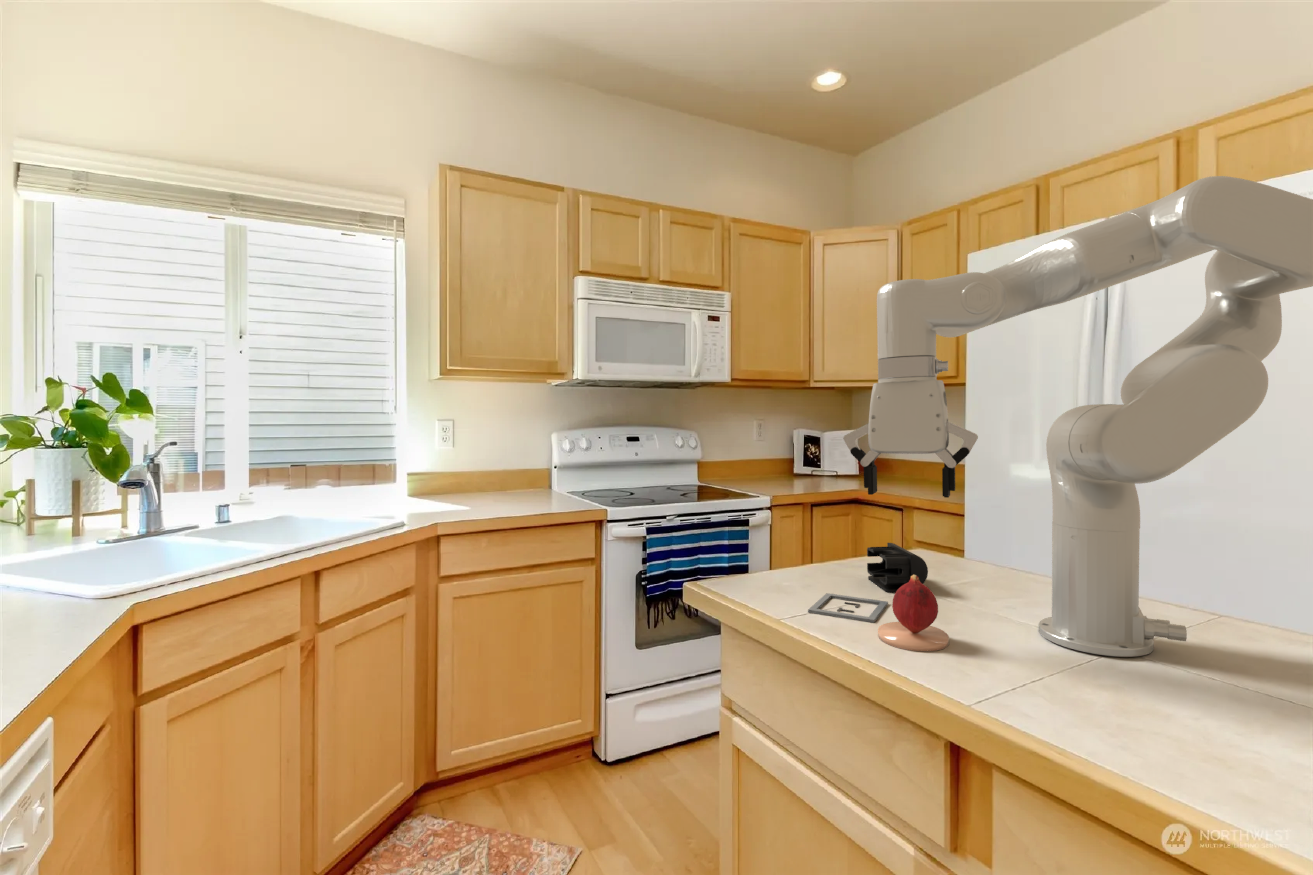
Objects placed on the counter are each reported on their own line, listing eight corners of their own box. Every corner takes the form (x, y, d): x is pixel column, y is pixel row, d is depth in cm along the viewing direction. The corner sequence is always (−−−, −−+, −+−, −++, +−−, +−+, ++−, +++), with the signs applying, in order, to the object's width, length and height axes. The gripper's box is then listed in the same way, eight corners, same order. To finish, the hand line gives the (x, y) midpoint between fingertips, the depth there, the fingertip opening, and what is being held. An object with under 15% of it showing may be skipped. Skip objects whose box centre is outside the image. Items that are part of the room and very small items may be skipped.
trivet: (952, 633, 86) (952, 628, 86) (944, 656, 78) (944, 650, 78) (885, 623, 90) (885, 617, 90) (871, 643, 83) (871, 637, 83)
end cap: (928, 593, 105) (928, 554, 105) (887, 594, 105) (887, 555, 105) (903, 577, 115) (903, 541, 115) (866, 578, 115) (866, 542, 115)
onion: (945, 640, 81) (945, 581, 81) (901, 641, 81) (901, 581, 81) (927, 625, 87) (927, 569, 87) (886, 626, 87) (886, 570, 87)
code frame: (888, 604, 99) (888, 601, 99) (874, 622, 91) (874, 619, 91) (826, 595, 105) (826, 593, 105) (808, 612, 96) (808, 609, 96)
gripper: (978, 369, 84) (979, 493, 84) (849, 376, 92) (851, 489, 93) (975, 366, 77) (977, 501, 78) (836, 374, 86) (839, 495, 87)
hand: (908, 494), depth 86 cm, fingers open, 9 cm apart
